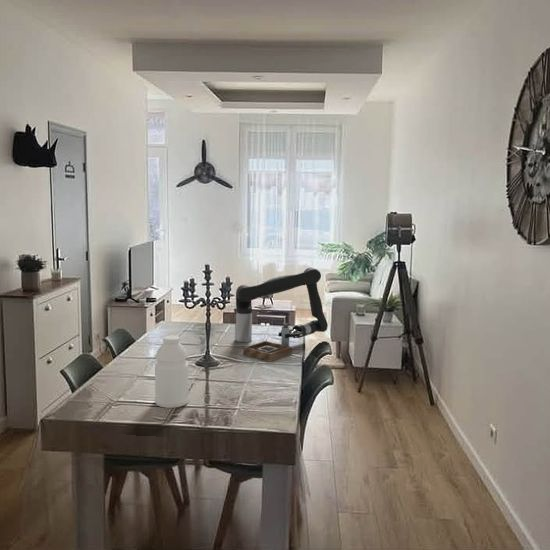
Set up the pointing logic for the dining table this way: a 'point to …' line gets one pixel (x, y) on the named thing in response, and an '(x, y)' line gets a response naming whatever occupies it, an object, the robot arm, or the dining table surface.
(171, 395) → the bottle
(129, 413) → the dining table surface
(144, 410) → the dining table surface
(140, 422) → the dining table surface
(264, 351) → the wooden box
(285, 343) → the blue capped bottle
